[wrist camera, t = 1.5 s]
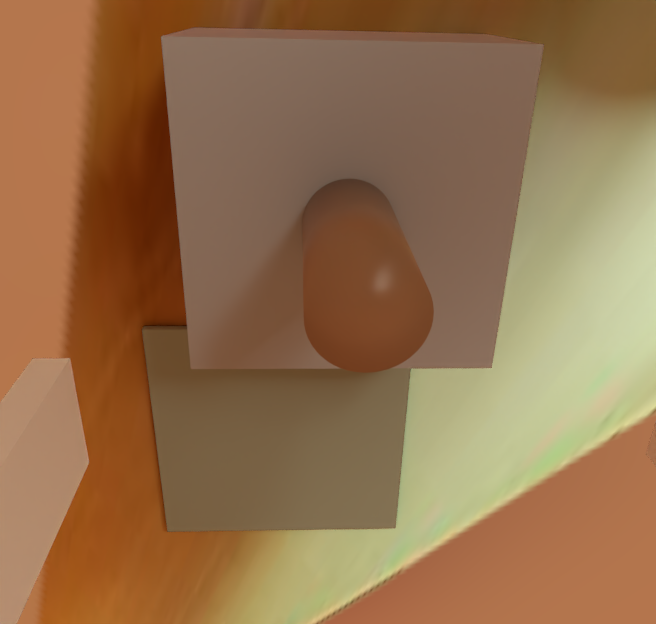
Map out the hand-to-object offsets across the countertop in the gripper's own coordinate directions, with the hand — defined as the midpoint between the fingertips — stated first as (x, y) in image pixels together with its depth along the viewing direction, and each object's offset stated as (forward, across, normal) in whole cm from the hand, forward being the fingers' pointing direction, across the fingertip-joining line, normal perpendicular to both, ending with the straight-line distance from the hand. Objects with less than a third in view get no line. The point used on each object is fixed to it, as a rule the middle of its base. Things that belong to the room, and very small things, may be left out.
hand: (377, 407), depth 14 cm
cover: (+20, 0, 0) cm, 20 cm away
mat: (+20, -3, -16) cm, 25 cm away
